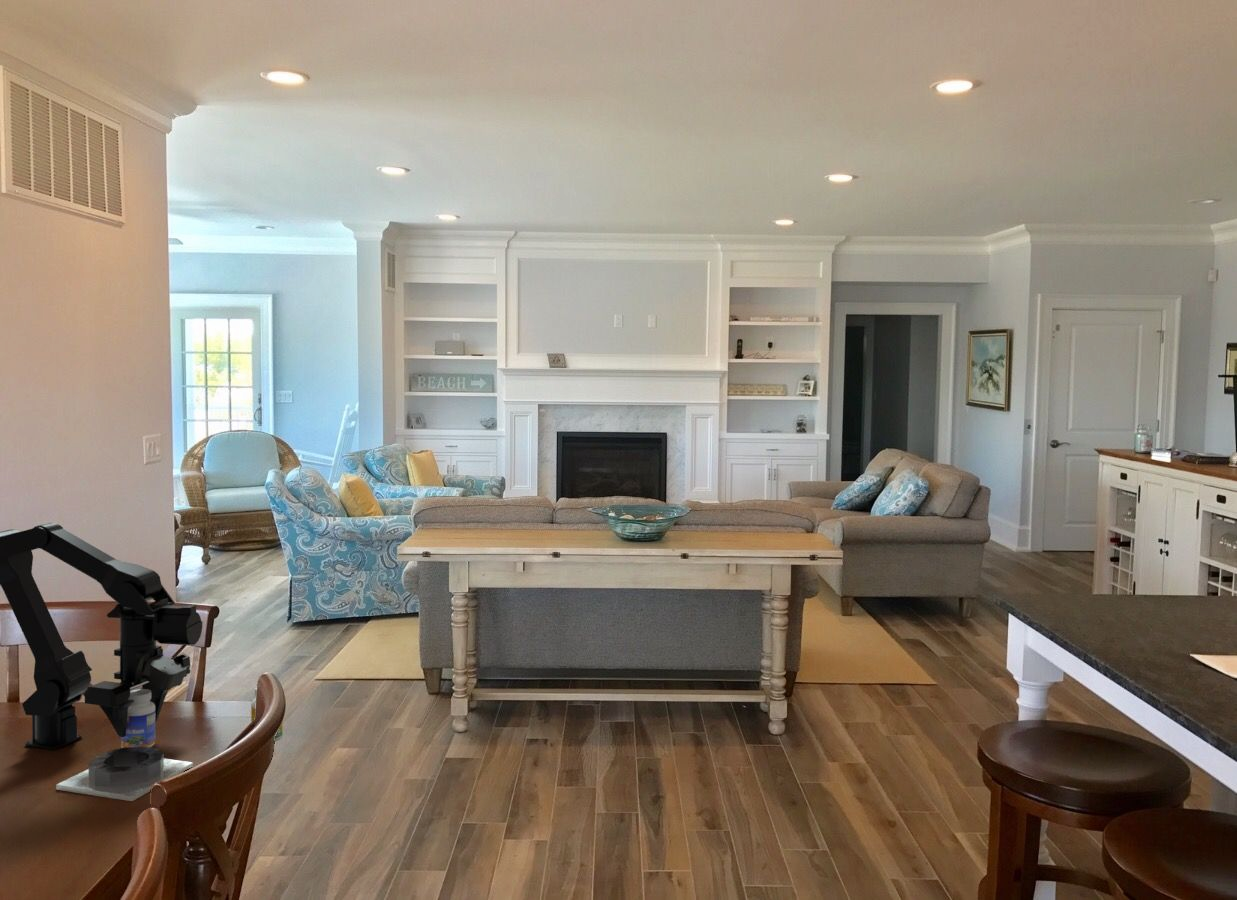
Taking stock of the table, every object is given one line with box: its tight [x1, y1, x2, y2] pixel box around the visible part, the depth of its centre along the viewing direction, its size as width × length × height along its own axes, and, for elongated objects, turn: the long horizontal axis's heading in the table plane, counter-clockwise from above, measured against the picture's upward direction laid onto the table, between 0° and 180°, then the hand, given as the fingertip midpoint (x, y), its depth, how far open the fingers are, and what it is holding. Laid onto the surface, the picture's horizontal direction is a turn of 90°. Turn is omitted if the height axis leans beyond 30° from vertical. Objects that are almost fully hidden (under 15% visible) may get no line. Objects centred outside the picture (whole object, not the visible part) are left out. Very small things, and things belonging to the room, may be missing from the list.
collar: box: [55, 746, 194, 802], centre depth 156 cm, size 14×14×3 cm
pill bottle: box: [120, 688, 156, 748], centre depth 169 cm, size 5×5×10 cm
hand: (138, 729), depth 170 cm, fingers open, 7 cm apart
